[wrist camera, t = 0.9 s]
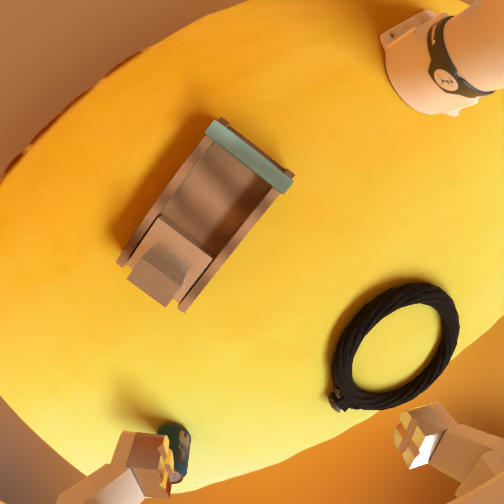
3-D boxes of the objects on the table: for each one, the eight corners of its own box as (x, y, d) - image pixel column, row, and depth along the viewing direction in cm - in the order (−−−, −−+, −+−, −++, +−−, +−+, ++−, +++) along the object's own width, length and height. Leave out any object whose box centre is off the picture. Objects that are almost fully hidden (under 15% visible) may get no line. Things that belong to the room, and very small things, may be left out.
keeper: (162, 214, 41) (149, 223, 34) (214, 253, 43) (210, 269, 36) (132, 259, 42) (115, 274, 36) (181, 295, 44) (173, 317, 37)
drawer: (222, 121, 40) (220, 113, 34) (289, 174, 42) (299, 175, 36) (124, 254, 44) (109, 267, 37) (188, 301, 46) (181, 321, 40)
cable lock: (475, 347, 49) (367, 438, 53) (466, 339, 53) (361, 426, 57) (433, 253, 43) (291, 374, 47) (421, 247, 47) (287, 361, 50)
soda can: (155, 435, 54) (144, 478, 42) (162, 416, 52) (151, 461, 40) (186, 445, 55) (180, 488, 43) (195, 427, 53) (190, 473, 42)
